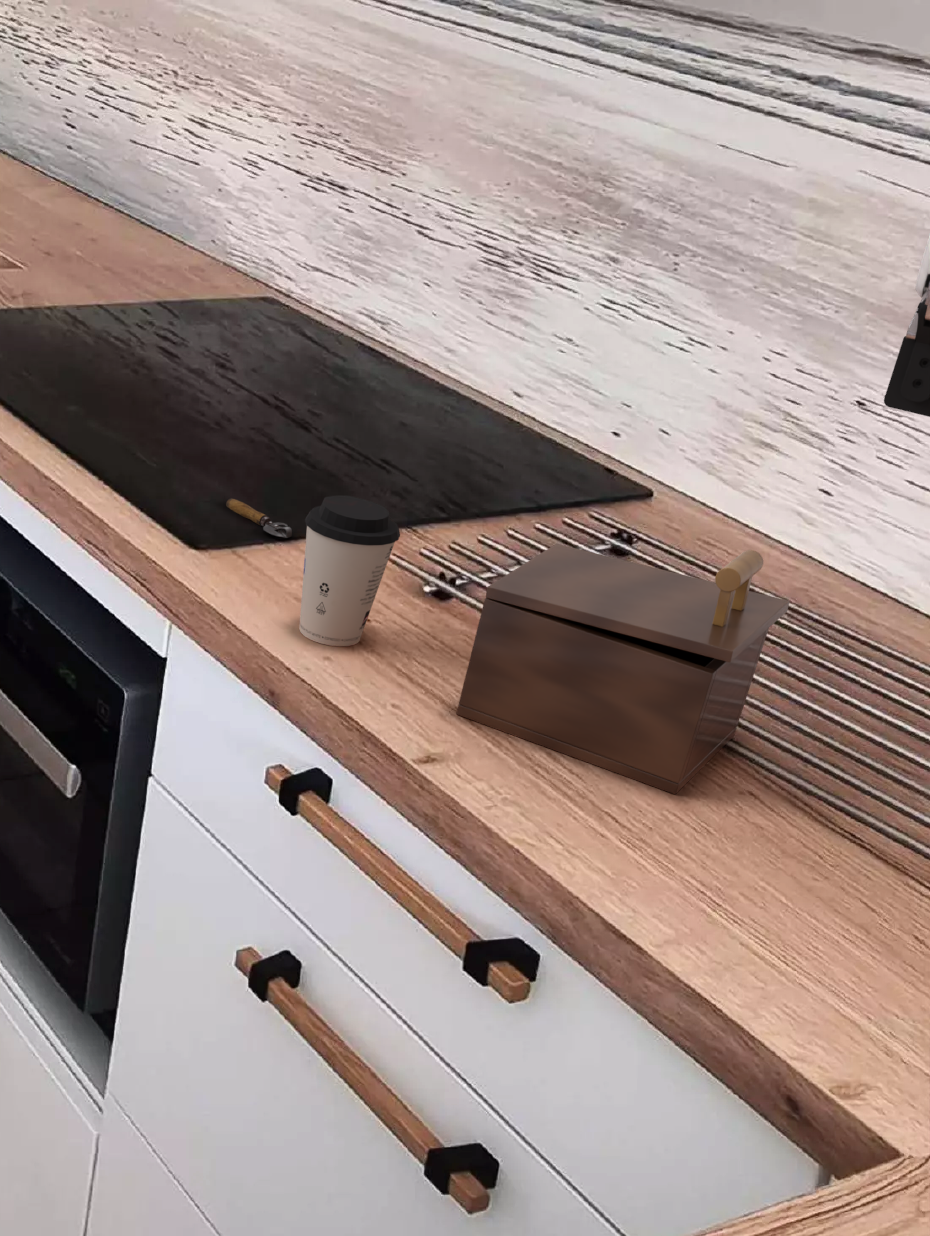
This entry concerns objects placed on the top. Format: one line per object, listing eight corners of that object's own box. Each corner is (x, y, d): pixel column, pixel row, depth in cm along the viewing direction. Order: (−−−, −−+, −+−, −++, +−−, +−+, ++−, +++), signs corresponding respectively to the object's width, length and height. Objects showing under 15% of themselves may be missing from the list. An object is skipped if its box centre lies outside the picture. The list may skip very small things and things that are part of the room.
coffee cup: (395, 648, 148) (424, 522, 143) (319, 657, 145) (346, 528, 140) (339, 611, 153) (365, 488, 149) (265, 619, 150) (289, 494, 146)
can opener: (223, 509, 173) (225, 497, 172) (246, 509, 174) (249, 496, 173) (277, 542, 165) (279, 529, 165) (301, 542, 166) (303, 528, 166)
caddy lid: (787, 611, 135) (804, 544, 133) (730, 662, 125) (747, 591, 123) (554, 553, 143) (566, 489, 141) (485, 597, 134) (497, 530, 132)
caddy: (733, 736, 140) (770, 622, 136) (675, 794, 130) (713, 673, 126) (524, 664, 148) (553, 554, 143) (455, 714, 138) (484, 598, 134)
